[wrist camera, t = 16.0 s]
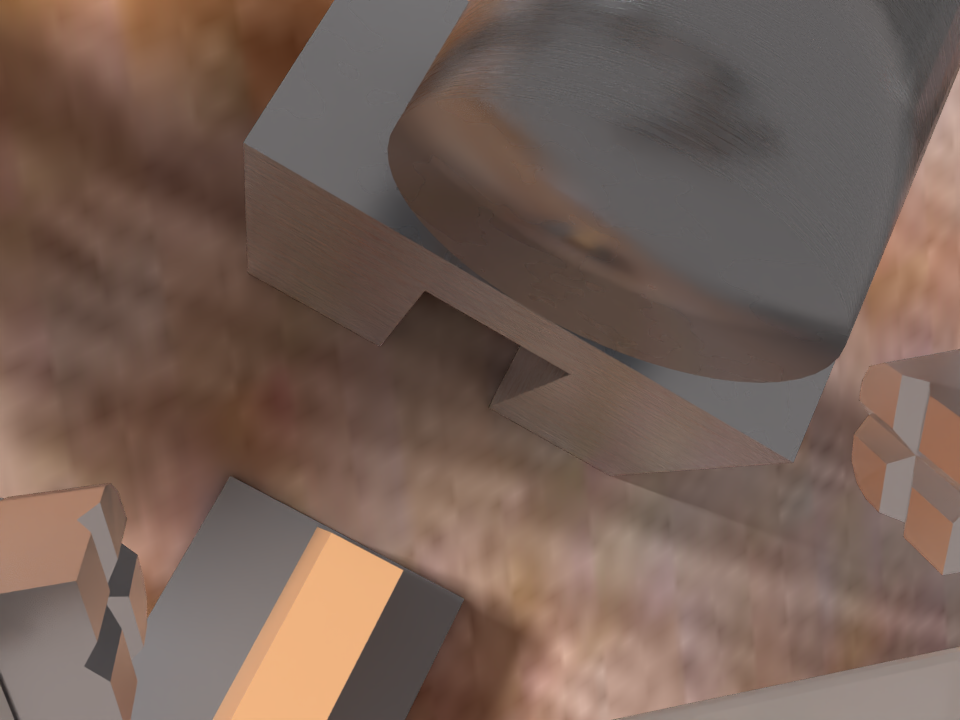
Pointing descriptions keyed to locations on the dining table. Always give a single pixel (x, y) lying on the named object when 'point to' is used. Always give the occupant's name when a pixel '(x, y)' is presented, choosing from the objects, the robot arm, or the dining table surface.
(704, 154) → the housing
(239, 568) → the mat
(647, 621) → the dining table surface
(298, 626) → the plug
